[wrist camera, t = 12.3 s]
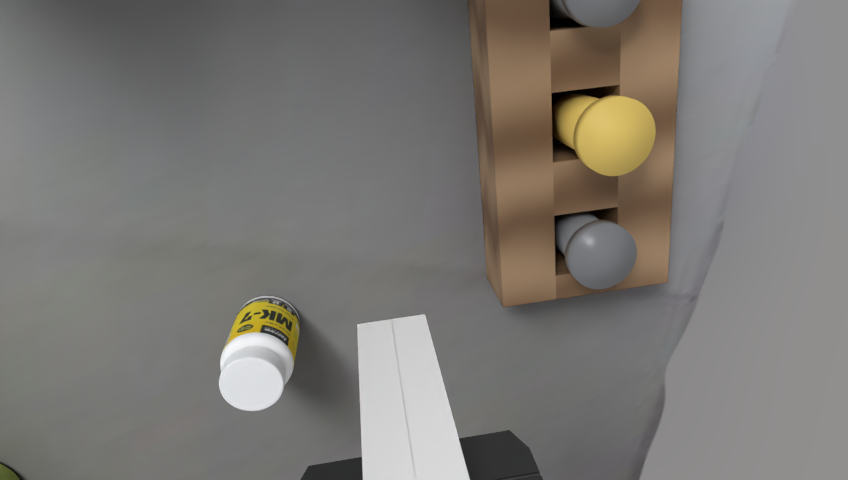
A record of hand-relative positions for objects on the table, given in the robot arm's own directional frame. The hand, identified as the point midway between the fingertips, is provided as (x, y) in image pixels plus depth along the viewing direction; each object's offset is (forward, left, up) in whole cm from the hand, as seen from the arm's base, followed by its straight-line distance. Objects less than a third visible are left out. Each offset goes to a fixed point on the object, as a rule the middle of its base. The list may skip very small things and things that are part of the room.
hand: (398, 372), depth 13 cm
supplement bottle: (+13, -9, -30) cm, 34 cm away
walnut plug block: (0, +14, -29) cm, 33 cm away
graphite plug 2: (+8, +14, -29) cm, 33 cm away
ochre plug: (0, +14, -27) cm, 30 cm away
